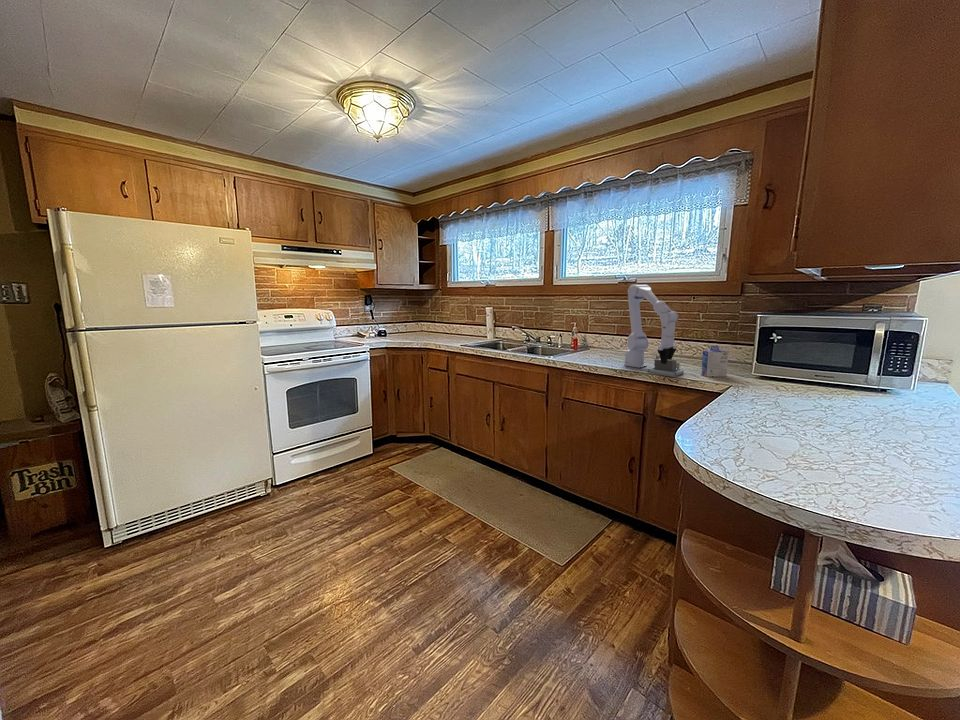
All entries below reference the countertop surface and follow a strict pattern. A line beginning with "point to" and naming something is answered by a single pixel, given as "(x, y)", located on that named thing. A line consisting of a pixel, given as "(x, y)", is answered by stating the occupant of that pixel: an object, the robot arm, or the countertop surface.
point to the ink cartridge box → (714, 362)
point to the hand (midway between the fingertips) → (665, 363)
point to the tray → (666, 372)
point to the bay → (676, 362)
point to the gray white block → (665, 365)
